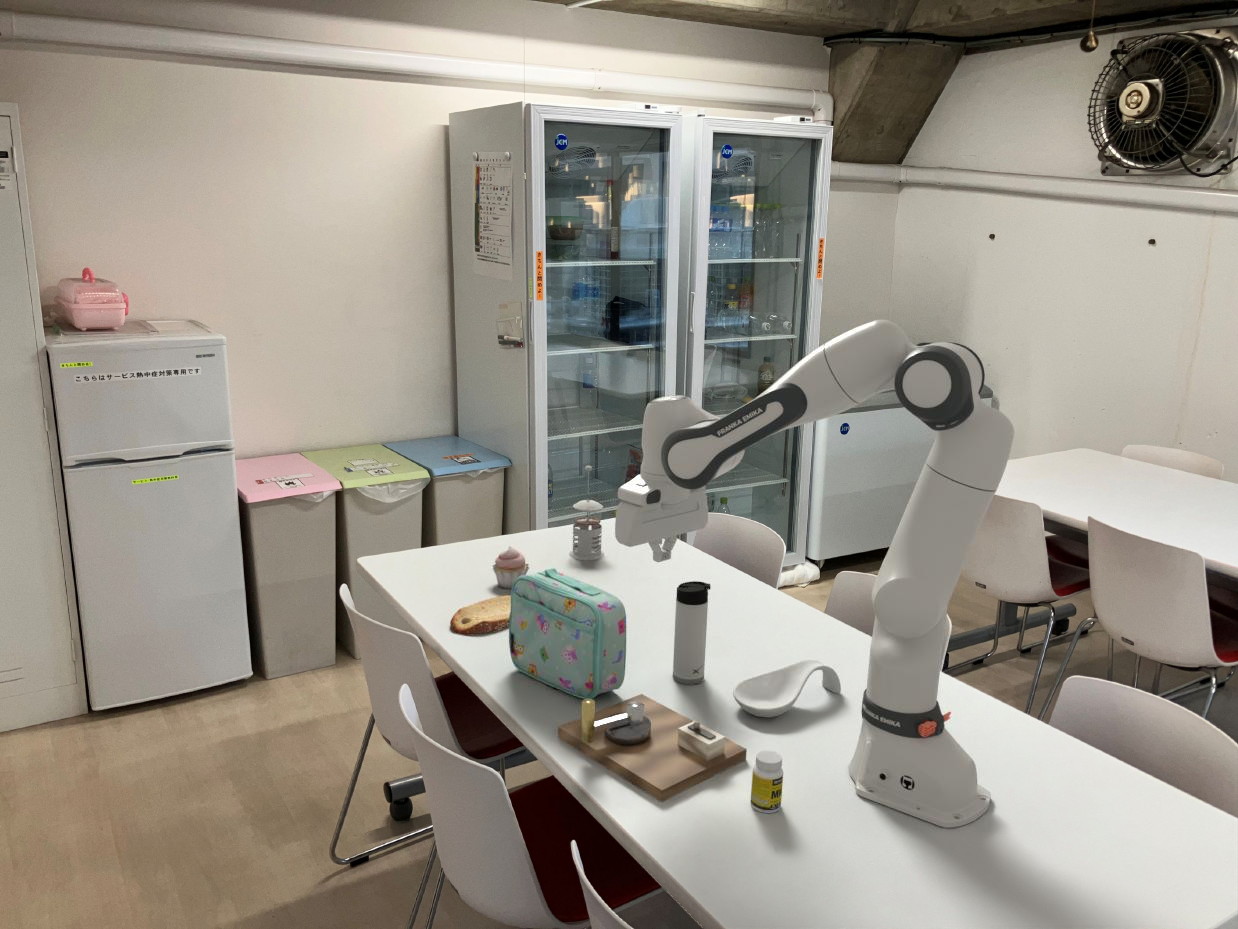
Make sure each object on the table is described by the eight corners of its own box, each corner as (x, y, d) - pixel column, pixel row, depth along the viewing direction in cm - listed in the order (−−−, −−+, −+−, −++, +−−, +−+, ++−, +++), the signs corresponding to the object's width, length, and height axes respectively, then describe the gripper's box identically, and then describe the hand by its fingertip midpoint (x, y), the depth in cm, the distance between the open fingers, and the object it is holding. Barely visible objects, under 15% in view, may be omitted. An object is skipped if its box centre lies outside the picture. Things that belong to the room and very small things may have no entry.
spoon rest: (761, 732, 177) (763, 695, 176) (719, 705, 187) (721, 670, 185) (853, 701, 190) (856, 666, 189) (810, 677, 200) (813, 644, 198)
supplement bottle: (773, 817, 151) (777, 768, 149) (745, 807, 154) (748, 758, 152) (785, 803, 155) (789, 754, 153) (758, 793, 157) (761, 745, 156)
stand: (745, 759, 167) (748, 724, 166) (661, 801, 154) (663, 764, 153) (641, 703, 186) (642, 671, 185) (558, 737, 173) (558, 703, 172)
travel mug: (703, 686, 194) (708, 590, 189) (670, 683, 195) (674, 587, 190) (707, 673, 200) (712, 579, 195) (675, 669, 201) (679, 576, 196)
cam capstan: (634, 718, 176) (635, 677, 174) (659, 738, 169) (661, 695, 167) (570, 736, 169) (570, 693, 167) (594, 757, 162) (595, 713, 161)
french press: (565, 558, 267) (566, 468, 261) (574, 545, 278) (576, 459, 272) (601, 561, 265) (603, 471, 259) (608, 548, 276) (611, 461, 271)
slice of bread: (523, 603, 235) (523, 588, 234) (533, 633, 218) (533, 617, 217) (447, 607, 231) (447, 592, 231) (451, 638, 214) (451, 621, 213)
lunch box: (498, 666, 200) (498, 566, 195) (536, 652, 208) (537, 555, 203) (592, 711, 183) (595, 603, 178) (630, 694, 190) (633, 589, 185)
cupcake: (509, 575, 253) (509, 538, 250) (536, 583, 247) (537, 545, 245) (483, 585, 245) (483, 546, 243) (511, 594, 240) (512, 554, 238)
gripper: (692, 474, 184) (689, 544, 187) (610, 490, 170) (608, 566, 174) (717, 481, 179) (714, 553, 182) (635, 498, 166) (632, 576, 169)
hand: (661, 560), depth 178 cm, fingers closed
